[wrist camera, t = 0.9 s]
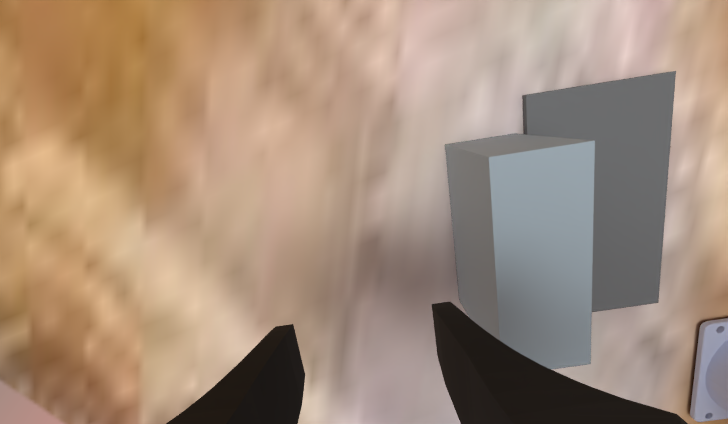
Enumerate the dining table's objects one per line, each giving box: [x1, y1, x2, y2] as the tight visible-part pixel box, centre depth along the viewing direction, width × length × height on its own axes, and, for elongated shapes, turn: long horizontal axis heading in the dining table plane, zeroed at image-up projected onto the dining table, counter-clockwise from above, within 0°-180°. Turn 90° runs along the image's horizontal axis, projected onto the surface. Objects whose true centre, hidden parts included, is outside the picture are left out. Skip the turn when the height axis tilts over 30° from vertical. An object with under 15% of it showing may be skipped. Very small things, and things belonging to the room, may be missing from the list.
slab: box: [445, 134, 595, 369], centre depth 18 cm, size 4×10×7 cm, turn 9°
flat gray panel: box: [523, 71, 676, 312], centre depth 21 cm, size 8×14×1 cm, turn 9°
